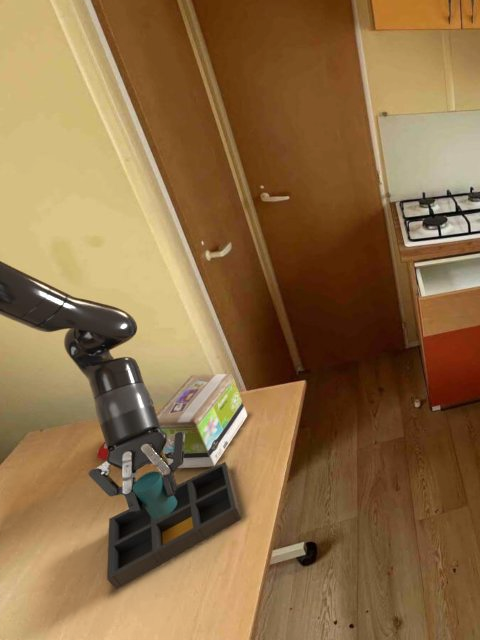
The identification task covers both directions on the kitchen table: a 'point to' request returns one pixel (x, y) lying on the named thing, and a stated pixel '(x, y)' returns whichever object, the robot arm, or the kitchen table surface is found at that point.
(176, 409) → the tea box
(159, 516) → the cylinder
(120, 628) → the kitchen table surface
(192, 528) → the grid
